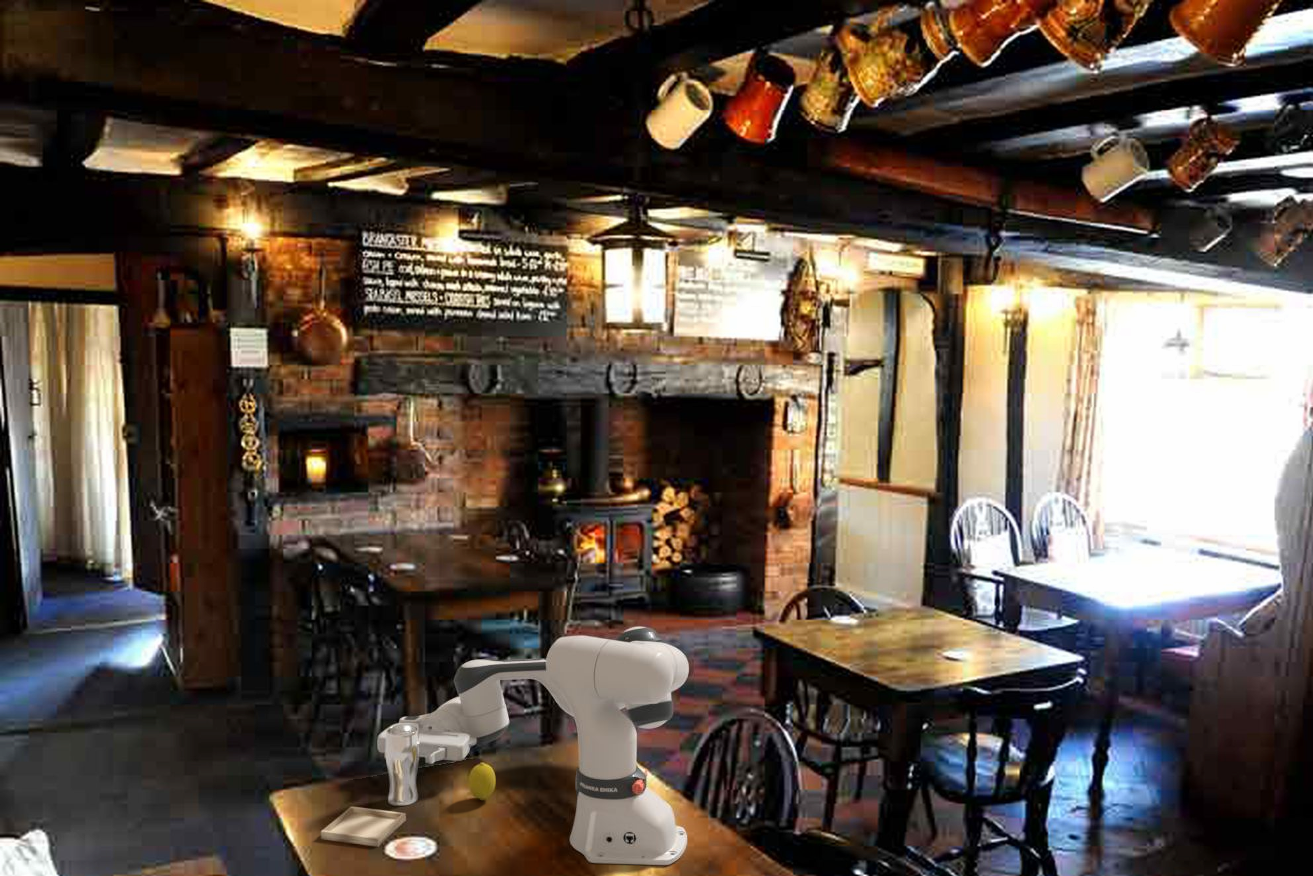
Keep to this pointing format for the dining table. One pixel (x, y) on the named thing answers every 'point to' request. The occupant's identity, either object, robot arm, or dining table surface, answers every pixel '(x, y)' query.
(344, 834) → the tray
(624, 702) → the robot arm
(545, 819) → the dining table surface
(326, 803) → the dining table surface
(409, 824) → the dining table surface
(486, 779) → the lemon
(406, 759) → the beer glass
